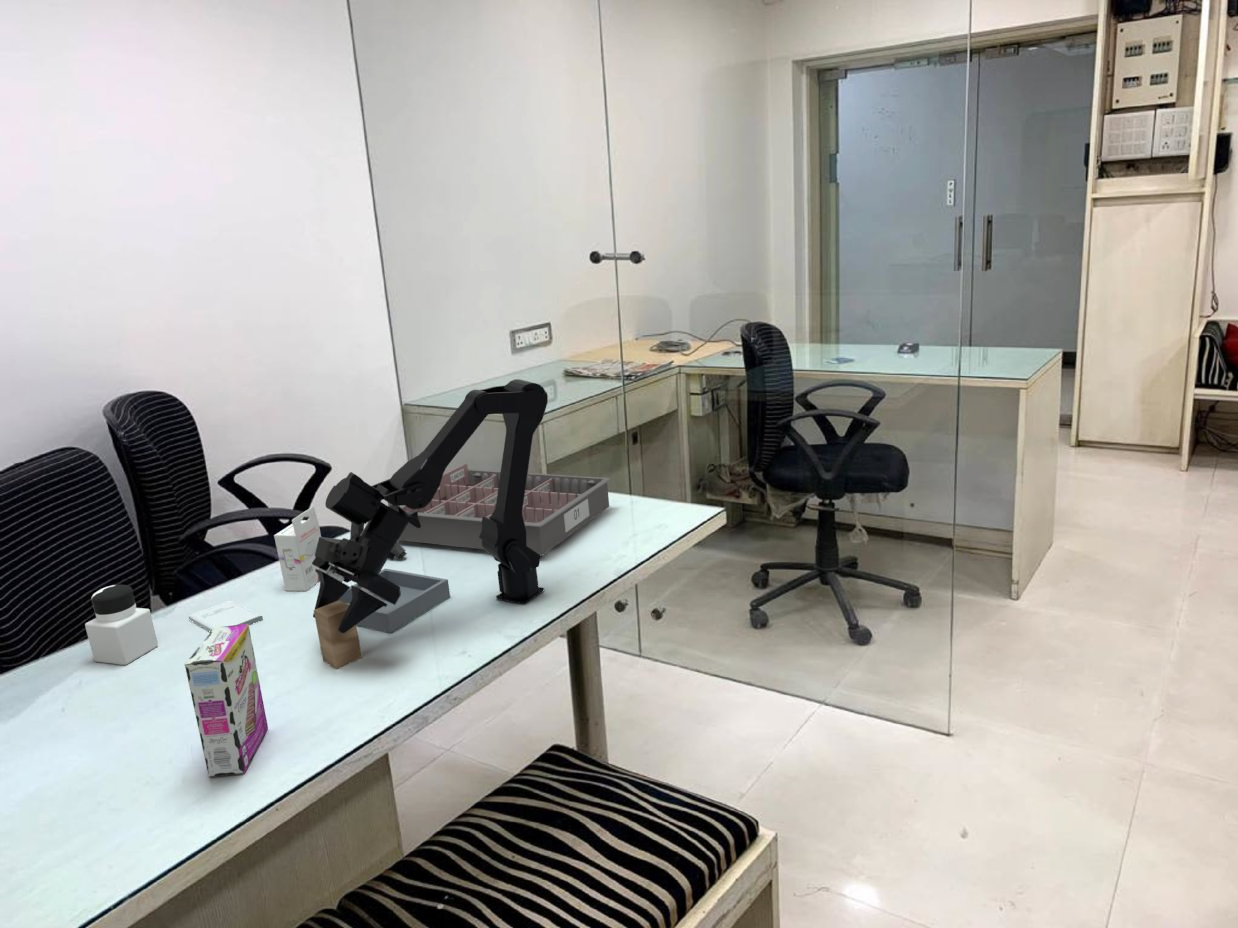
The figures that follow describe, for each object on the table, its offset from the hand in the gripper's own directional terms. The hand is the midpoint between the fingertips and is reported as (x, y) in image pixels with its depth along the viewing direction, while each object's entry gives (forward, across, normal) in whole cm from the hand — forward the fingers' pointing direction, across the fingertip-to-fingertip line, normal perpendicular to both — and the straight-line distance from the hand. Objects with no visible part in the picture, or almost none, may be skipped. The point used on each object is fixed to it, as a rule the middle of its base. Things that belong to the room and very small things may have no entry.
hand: (327, 625), depth 145 cm
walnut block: (+4, 0, +6) cm, 7 cm away
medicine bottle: (+20, -33, -10) cm, 40 cm away
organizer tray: (-35, -28, +45) cm, 63 cm away
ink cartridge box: (-5, -36, +14) cm, 39 cm away
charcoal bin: (-7, -11, +17) cm, 21 cm away
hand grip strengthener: (-16, -35, +26) cm, 46 cm away
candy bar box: (+20, +13, -10) cm, 26 cm away
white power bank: (+8, -32, +2) cm, 34 cm away
